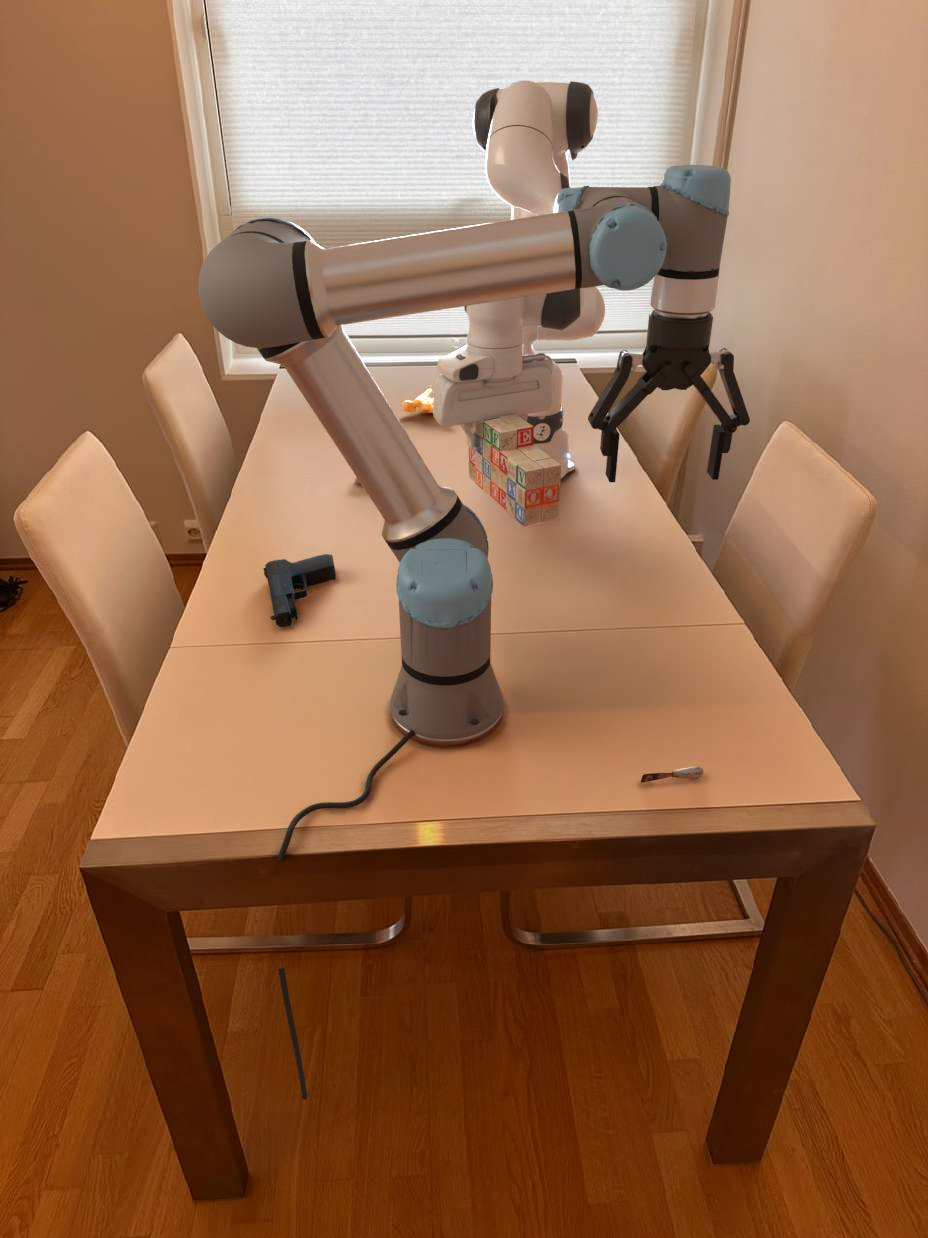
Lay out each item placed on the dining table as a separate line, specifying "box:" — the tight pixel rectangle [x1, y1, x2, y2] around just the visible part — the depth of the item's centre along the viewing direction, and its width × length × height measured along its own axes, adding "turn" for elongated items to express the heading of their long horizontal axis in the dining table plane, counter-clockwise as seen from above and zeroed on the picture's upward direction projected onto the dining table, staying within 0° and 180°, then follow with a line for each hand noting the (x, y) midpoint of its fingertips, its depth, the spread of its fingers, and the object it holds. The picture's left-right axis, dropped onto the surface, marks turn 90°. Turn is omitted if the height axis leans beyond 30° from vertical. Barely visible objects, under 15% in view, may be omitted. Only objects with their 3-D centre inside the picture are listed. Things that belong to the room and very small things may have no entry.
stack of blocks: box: [468, 414, 562, 527], centre depth 143 cm, size 21×6×12 cm, turn 23°
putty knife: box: [640, 765, 705, 784], centre depth 109 cm, size 1×8×2 cm, turn 103°
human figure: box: [402, 385, 434, 414], centre depth 225 cm, size 20×20×4 cm
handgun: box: [263, 553, 337, 628], centre depth 146 cm, size 3×18×12 cm
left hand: (661, 477), depth 118 cm, fingers open, 13 cm apart
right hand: (493, 442), depth 148 cm, fingers closed on stack of blocks, 6 cm apart
